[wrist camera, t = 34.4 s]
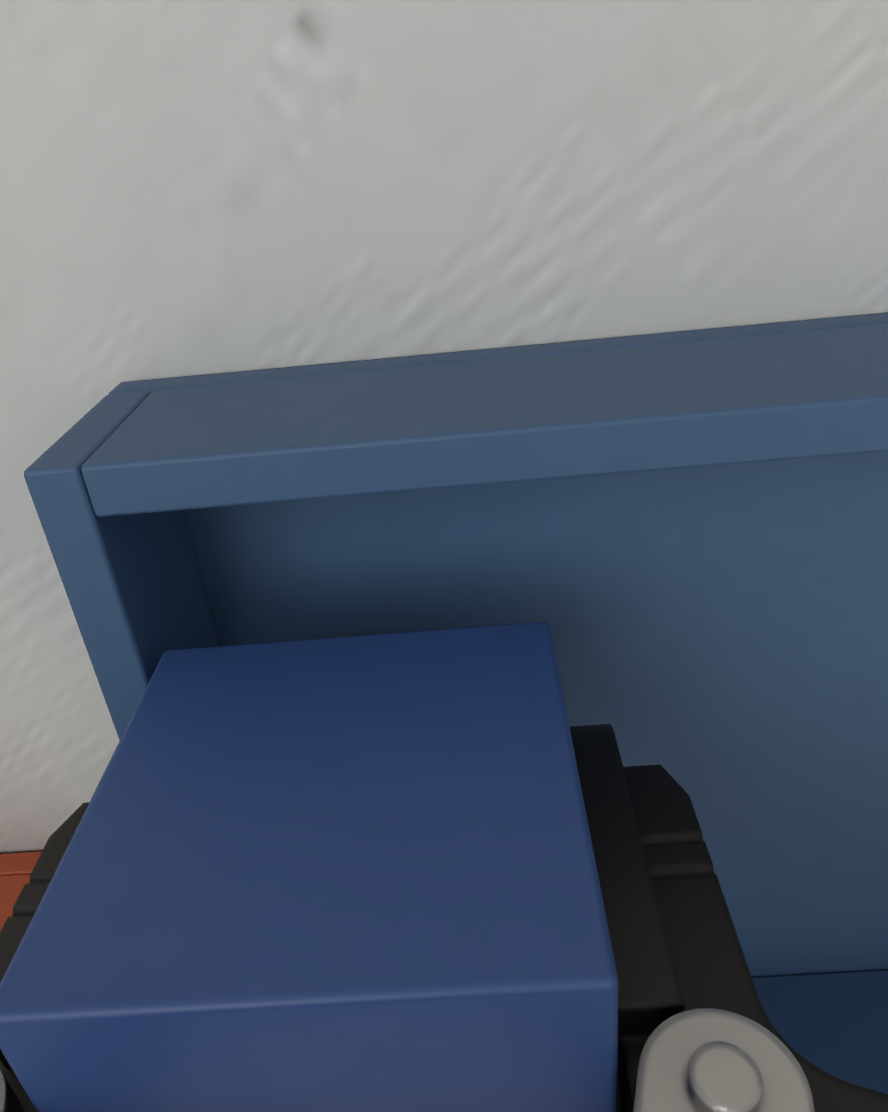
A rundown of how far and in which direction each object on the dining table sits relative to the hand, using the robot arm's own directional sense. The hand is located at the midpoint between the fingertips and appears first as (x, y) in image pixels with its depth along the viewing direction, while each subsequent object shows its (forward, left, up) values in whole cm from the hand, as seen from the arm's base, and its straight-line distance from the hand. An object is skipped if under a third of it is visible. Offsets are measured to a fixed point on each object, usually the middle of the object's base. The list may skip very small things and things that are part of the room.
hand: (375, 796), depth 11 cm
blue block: (0, 0, 0) cm, 0 cm away
